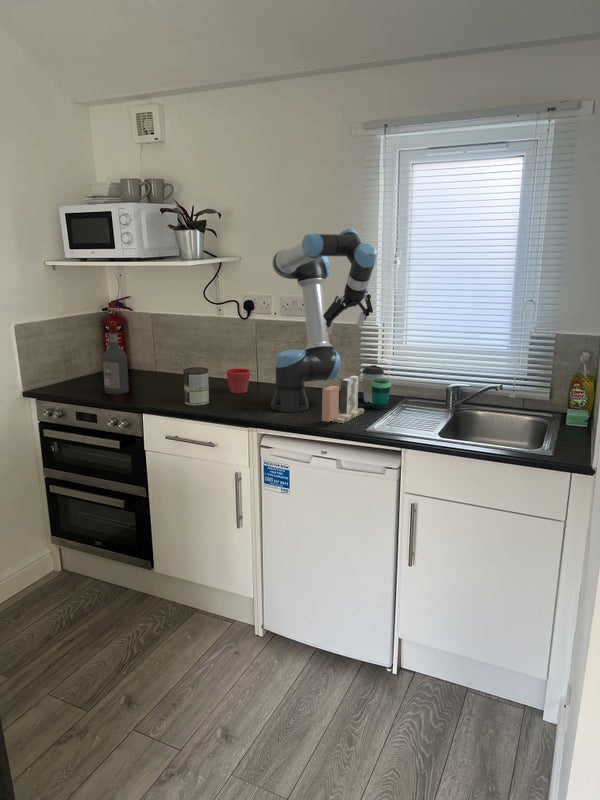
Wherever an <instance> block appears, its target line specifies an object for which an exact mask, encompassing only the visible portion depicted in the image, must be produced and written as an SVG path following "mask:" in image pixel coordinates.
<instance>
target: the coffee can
mask: <svg viewBox="0 0 600 800" xmlns="http://www.w3.org/2000/svg"><path fill="white" fill-rule="evenodd" d="M182 372H183V387H184V388H183V390H184V404H185V405H188V406H203V405H206V404H209V403H210V394H209V393H210V391H209V387H210V386H209V384H210V383H209V368H207V367H203V366H202V367H201V366H199V367H198V366H197V367H195V366H194V367H193V366H192V367H187V368H183V371H182Z"/></svg>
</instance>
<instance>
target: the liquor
mask: <svg viewBox="0 0 600 800" xmlns="http://www.w3.org/2000/svg"><path fill="white" fill-rule="evenodd" d="M108 334H109V345H108V348H107V350H105V352H104V353H102V354H103V355H102V368H103V370H102V371H103V381H104V385H103V386H104V393H105V394H108V395H117V396H118V395H122V394H126V393H128V392H129V391H130V388H129V373H128V372H129V371H128V356H127V353H126V352H125V351H124V350H123V349H122V348H121V347H120V345H119V340H118V338H119V337H118V325H117V324H108Z"/></svg>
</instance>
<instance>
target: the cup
mask: <svg viewBox="0 0 600 800" xmlns="http://www.w3.org/2000/svg"><path fill="white" fill-rule="evenodd" d="M371 385H372V402H373V403H372V408H373V409H374V408H375V410H380V409H383V410H386V409H387V408H388V404H389V399H390V395H391V387H392V383H391V382H390V379H388V378H384V377H383V378H377V379H374V380H373V382H372V383H371Z"/></svg>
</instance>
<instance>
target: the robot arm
mask: <svg viewBox="0 0 600 800" xmlns="http://www.w3.org/2000/svg"><path fill="white" fill-rule="evenodd" d="M377 255H378V251H377V249H376V247H374V246H372V244H369V243H364V241H363V239H362V237H361V236H360V234H359V233H358V232H357V231H356V230H355V229H353V228H348V229H345V230H342V231H341V232H340V233H339V234H338V233H337V234H335V233H334V234H331V233H329V234H327V233H308V234H305V236H303V239H302V242H300V243H298V244H296V245H295V246H292V247H291V248H283V249H280V250H279V251H278V252H276V253H275V255H273V259H272V268H273V270H274V272H275V273H276V274H277V275H278V276H280V277H281V278H283V279H287V280H288V279H289V280H296V281H297V286H299V287H301V291H302V299H303V300H302V301H303V309H304V310H303V311H304V316H305V317H304V318H305V326H306V328H305V329H306V334H307V335H306V336H307V346H306V348H305V349H298V348H297V349H287V350H284V351H281V352H278V353H277V355H276V356H275V364H274V365H275V366H274V367H275V390H274V393H273V398H272V399H271V404H270V405H271V409H272V410H274V411H276V412H281V413H298V412H304V411H307V410H308V409H309V400H308V396H307V395H306V394H307V393H306V390H305V383H306V382H316V381H317V382H319V381H330V380H334V379H335V378H337V376H338V374H339V372H340V371H341V363H342V362H341V356H340V354H339V352H338V351H336V350H335V349H334V346H333V344H331V343H330V341H329V335H331V334H332V331H333V327H334V323H335V319H336V318H337V317H338V316H339V315H340V314H341V313H343V311H344V310H345V311H346V310H347V309H348V308H351V307H356V306H358V307H359V308H360V309H361V310H362V311H361V310H360V312H359V316H358V319H357V322H356V325H357V327H358V328H359V329H362V328H363V325H364V321H366V319H367V317H369V316H370V315H371V314H372V313H373V312H374V308H373V305H372V302H371V297H372V296H371V294H370V292H369V291H368V290H367V289H368V286H369V282H370V279H371V275H372V273H373V270H374V267H375V264H376V261H377ZM328 257H346V259H348V261H349V263H350V264H351V265H350V270H349V273H348V276H347V280H346V284H345V288H344V290H343V291H344V292H343V293H344V294H343V296H341V297H339V296H338V295H336V296H335V298H334V300H333V302H332V303H331V304H330V306H329V307H328V308H327V310H326V304H325V303H326V302H325V297H324V296H325V295H324V288H323V287H324V286H323V285H324V284H325V283H326V279H327V278H328V277H329V275H330V269H331V267H330V261H329V258H328ZM363 299H364V301H365V305H366V308H365V306H364V305H363V303H362V301H363ZM344 304H345V305H344Z"/></svg>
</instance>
